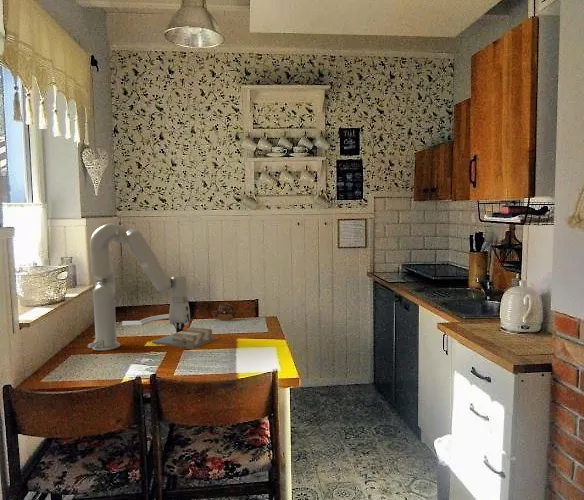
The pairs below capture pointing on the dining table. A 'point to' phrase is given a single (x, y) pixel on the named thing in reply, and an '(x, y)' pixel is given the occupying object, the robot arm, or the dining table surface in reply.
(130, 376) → the dining table surface
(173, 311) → the robot arm
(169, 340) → the floor panel
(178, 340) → the ash plank
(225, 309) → the wooden carving
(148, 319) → the molding
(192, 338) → the fixed plank
